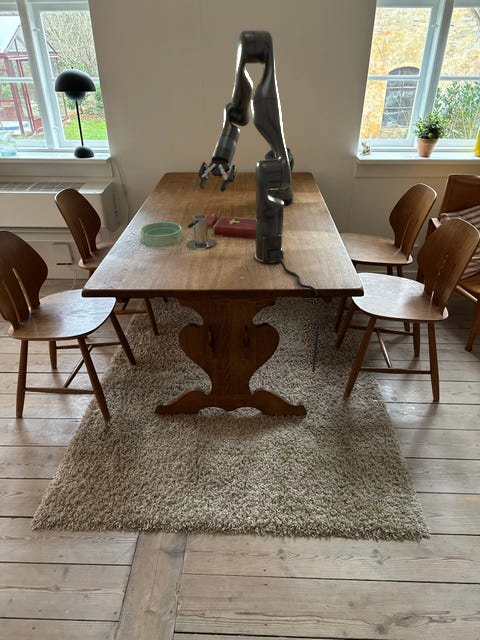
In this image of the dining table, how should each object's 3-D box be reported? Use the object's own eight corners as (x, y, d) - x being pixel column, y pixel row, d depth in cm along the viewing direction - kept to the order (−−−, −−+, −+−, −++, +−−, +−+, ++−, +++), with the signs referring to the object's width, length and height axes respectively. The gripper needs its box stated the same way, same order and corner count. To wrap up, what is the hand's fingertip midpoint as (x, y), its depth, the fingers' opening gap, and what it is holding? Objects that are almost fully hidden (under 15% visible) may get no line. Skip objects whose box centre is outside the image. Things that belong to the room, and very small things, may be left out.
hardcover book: (266, 240, 173) (266, 230, 171) (213, 235, 177) (213, 225, 175) (272, 229, 183) (272, 219, 181) (222, 225, 187) (221, 215, 185)
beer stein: (256, 205, 209) (256, 149, 196) (261, 193, 226) (262, 140, 213) (291, 207, 207) (295, 150, 194) (295, 195, 223) (298, 141, 210)
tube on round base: (198, 239, 173) (197, 213, 168) (210, 241, 171) (209, 215, 166) (184, 249, 164) (182, 223, 159) (196, 252, 162) (194, 225, 157)
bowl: (184, 245, 169) (183, 234, 167) (142, 249, 166) (141, 237, 164) (180, 231, 182) (179, 220, 180) (141, 234, 179) (139, 223, 177)
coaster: (216, 248, 167) (216, 246, 167) (189, 250, 165) (189, 249, 165) (212, 238, 175) (212, 236, 175) (186, 240, 173) (186, 239, 173)
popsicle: (218, 212, 196) (210, 224, 184) (218, 216, 197) (210, 228, 185) (208, 211, 197) (199, 223, 185) (208, 215, 198) (199, 228, 185)
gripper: (204, 144, 172) (191, 182, 169) (238, 147, 167) (225, 186, 164) (211, 155, 179) (198, 192, 176) (244, 159, 174) (232, 196, 171)
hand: (211, 189), depth 170 cm, fingers open, 8 cm apart
